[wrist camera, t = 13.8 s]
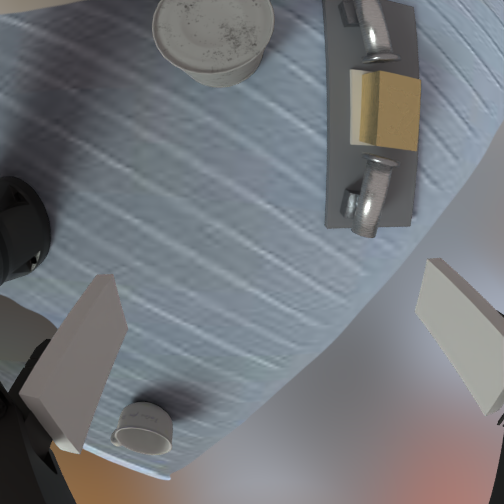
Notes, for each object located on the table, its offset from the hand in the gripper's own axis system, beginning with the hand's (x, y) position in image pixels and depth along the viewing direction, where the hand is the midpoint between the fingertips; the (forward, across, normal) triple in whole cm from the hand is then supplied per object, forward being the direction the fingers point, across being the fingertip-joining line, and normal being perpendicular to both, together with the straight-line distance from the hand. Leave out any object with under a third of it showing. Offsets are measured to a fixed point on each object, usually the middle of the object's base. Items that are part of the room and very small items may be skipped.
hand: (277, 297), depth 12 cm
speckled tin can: (+27, -3, +15) cm, 31 cm away
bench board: (+27, +15, +8) cm, 32 cm away
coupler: (+25, +15, +8) cm, 30 cm away
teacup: (+27, -23, -44) cm, 57 cm away
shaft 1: (+26, +13, +18) cm, 34 cm away
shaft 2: (+26, +13, -2) cm, 29 cm away
